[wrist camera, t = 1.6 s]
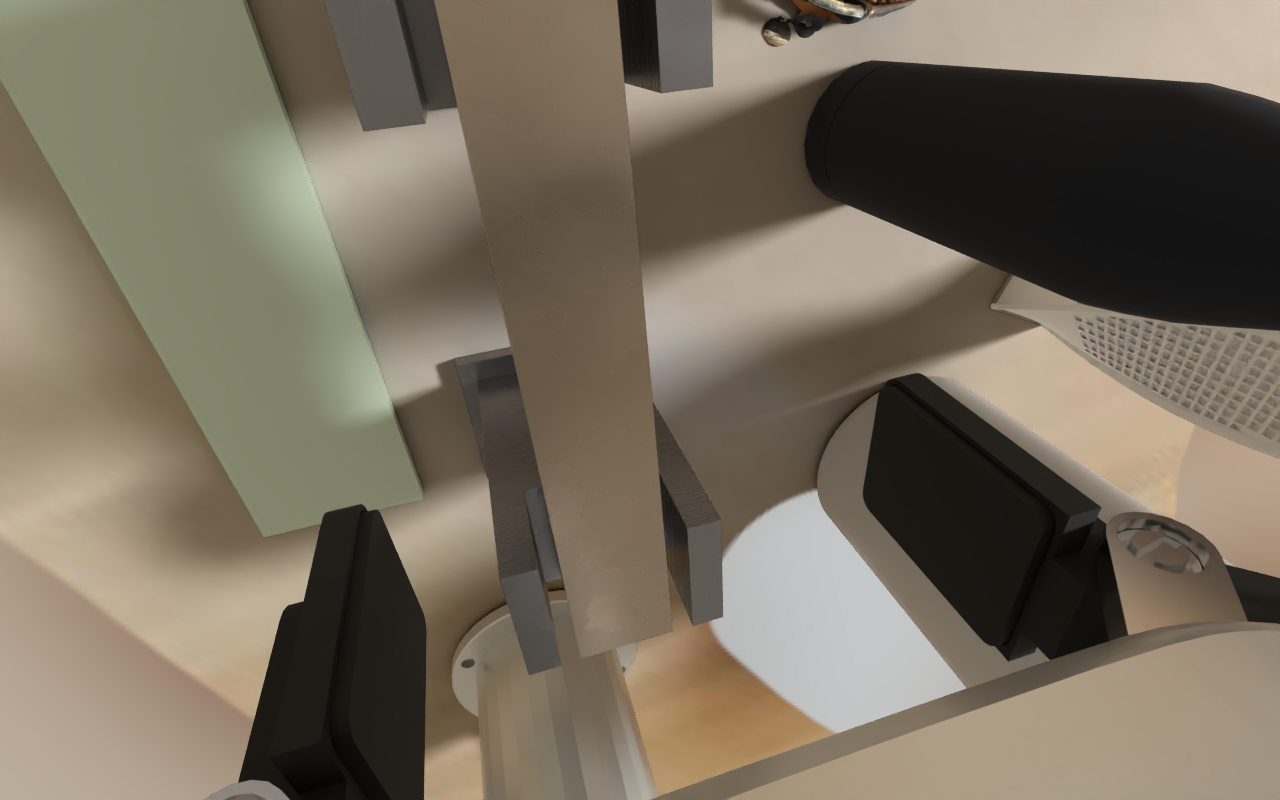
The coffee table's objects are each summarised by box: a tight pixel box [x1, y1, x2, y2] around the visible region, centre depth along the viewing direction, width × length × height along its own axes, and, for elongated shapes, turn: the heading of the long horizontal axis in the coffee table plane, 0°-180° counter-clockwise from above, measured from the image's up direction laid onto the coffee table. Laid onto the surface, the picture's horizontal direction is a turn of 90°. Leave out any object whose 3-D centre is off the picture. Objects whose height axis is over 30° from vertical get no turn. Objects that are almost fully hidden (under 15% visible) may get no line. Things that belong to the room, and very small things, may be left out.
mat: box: [0, 0, 424, 538], centre depth 25 cm, size 26×8×1 cm, turn 4°
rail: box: [433, 0, 673, 659], centre depth 18 cm, size 24×4×4 cm, turn 4°
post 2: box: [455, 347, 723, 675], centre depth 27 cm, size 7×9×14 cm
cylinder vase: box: [817, 377, 1235, 688], centre depth 32 cm, size 12×12×25 cm
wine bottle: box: [805, 61, 1280, 331], centre depth 18 cm, size 6×6×30 cm
